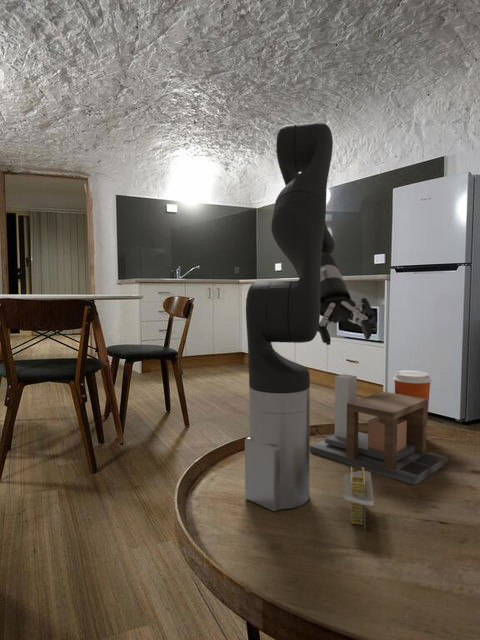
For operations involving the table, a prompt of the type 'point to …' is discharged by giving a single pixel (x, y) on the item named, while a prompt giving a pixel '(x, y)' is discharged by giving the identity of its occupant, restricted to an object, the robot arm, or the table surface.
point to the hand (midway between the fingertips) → (348, 339)
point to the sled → (376, 427)
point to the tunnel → (388, 438)
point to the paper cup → (413, 384)
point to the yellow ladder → (359, 498)
